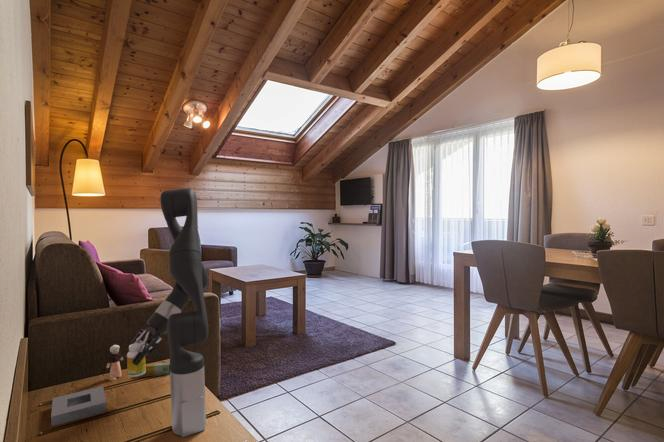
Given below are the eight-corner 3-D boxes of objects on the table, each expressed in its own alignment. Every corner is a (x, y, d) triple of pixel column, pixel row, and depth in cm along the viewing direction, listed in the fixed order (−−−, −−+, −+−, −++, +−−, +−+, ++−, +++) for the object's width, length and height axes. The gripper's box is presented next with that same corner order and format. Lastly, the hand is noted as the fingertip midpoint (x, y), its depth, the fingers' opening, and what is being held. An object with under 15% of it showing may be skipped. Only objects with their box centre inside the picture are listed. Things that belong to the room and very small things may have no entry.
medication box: (173, 372, 149) (172, 361, 149) (171, 374, 146) (170, 364, 146) (141, 374, 148) (141, 363, 148) (138, 377, 145) (138, 366, 145)
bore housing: (106, 411, 120) (106, 402, 120) (51, 426, 112) (51, 416, 112) (103, 394, 131) (103, 386, 131) (53, 407, 123) (52, 398, 123)
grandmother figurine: (115, 382, 141) (114, 348, 140) (105, 382, 141) (103, 348, 141) (126, 373, 148) (125, 341, 148) (117, 373, 149) (115, 341, 148)
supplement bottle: (138, 377, 123) (136, 348, 123) (123, 376, 124) (122, 347, 124) (149, 370, 128) (148, 342, 128) (135, 369, 130) (134, 341, 129)
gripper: (147, 308, 136) (112, 351, 127) (166, 314, 127) (130, 361, 118) (162, 319, 140) (130, 361, 132) (182, 326, 131) (148, 372, 122)
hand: (130, 361), depth 125 cm, fingers closed on supplement bottle, 5 cm apart
